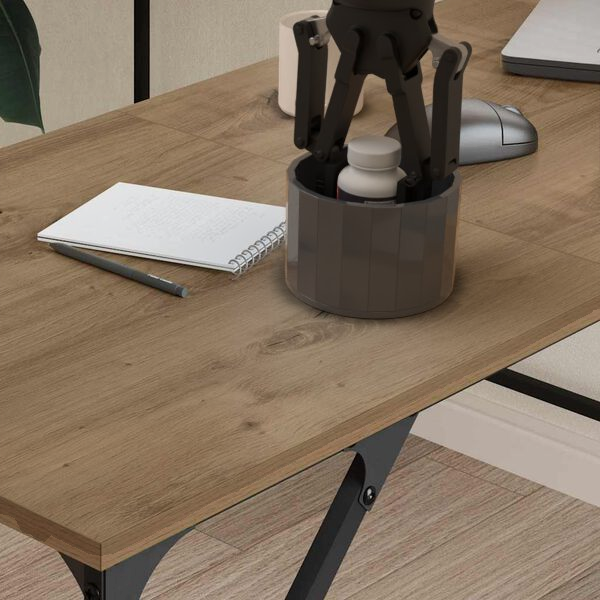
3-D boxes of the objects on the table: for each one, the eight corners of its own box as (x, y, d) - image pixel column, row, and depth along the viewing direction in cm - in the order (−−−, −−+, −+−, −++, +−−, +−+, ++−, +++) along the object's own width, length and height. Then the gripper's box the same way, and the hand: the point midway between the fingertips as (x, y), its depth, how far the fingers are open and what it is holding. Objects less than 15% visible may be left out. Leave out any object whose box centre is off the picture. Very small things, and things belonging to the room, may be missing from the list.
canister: (406, 335, 97) (413, 221, 93) (253, 290, 103) (253, 182, 99) (480, 269, 107) (489, 164, 103) (337, 232, 113) (341, 132, 109)
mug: (291, 90, 147) (292, 7, 143) (370, 98, 145) (374, 14, 141) (259, 125, 137) (260, 36, 133) (345, 134, 135) (349, 44, 131)
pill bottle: (326, 250, 106) (330, 134, 101) (390, 244, 107) (397, 129, 103) (346, 279, 101) (351, 158, 97) (413, 272, 102) (421, 153, 98)
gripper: (528, -48, 92) (498, 258, 102) (299, -80, 100) (293, 206, 111) (484, -27, 86) (457, 294, 97) (245, -63, 94) (243, 236, 105)
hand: (369, 246), depth 104 cm, fingers closed on pill bottle, 5 cm apart
